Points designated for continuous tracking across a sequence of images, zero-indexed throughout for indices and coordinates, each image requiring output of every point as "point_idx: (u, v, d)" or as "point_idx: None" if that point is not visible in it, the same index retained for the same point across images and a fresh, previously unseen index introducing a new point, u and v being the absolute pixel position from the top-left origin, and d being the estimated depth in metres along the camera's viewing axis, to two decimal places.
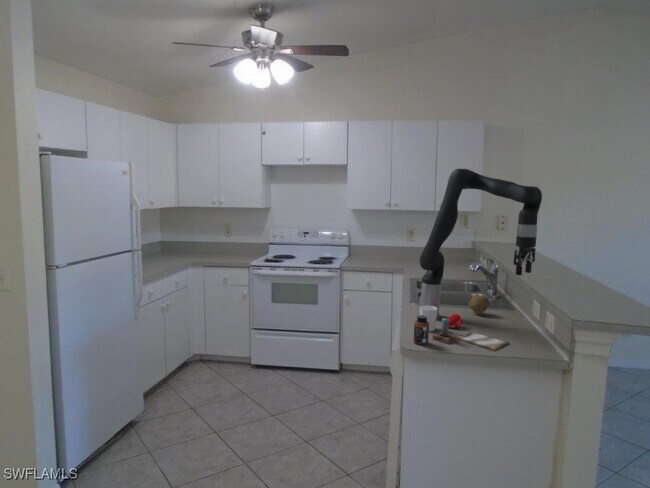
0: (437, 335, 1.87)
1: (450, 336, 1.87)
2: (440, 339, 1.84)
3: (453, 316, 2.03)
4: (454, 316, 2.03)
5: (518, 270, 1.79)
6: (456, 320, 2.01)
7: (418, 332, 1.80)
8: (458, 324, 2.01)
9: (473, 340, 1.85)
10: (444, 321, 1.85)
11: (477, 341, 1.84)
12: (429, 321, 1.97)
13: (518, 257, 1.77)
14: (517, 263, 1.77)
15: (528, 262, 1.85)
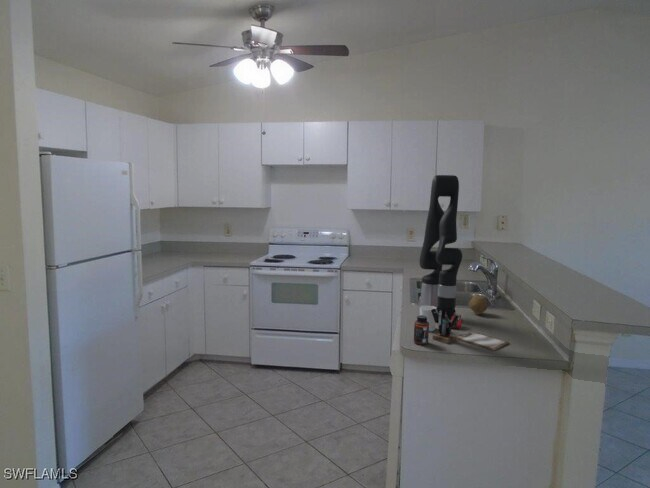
0: (437, 335, 1.87)
1: (450, 336, 1.87)
2: (440, 339, 1.84)
3: (453, 316, 2.03)
4: None
5: (450, 331, 1.85)
6: None
7: (418, 332, 1.80)
8: (458, 324, 2.01)
9: (473, 340, 1.85)
10: (444, 321, 1.85)
11: (477, 341, 1.84)
12: (429, 321, 1.97)
13: (457, 321, 1.82)
14: (454, 325, 1.83)
15: (441, 323, 1.87)
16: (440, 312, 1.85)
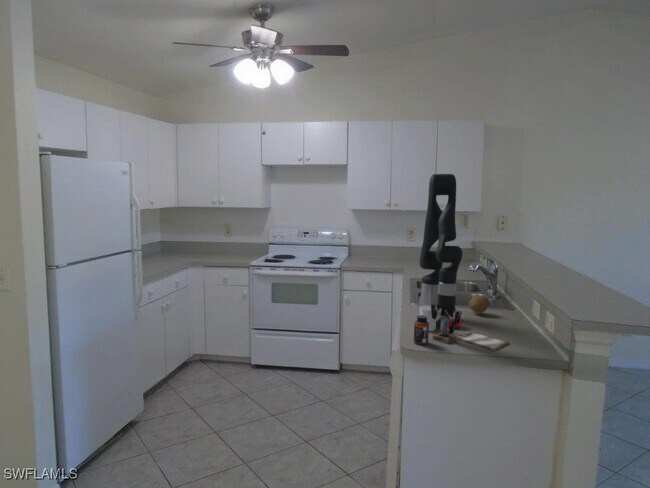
0: (437, 335, 1.87)
1: (450, 336, 1.87)
2: (440, 339, 1.84)
3: None
4: (454, 316, 2.03)
5: (453, 329, 1.84)
6: None
7: (418, 332, 1.80)
8: (458, 324, 2.01)
9: (473, 340, 1.85)
10: (443, 321, 1.85)
11: (477, 341, 1.84)
12: (429, 321, 1.97)
13: (459, 317, 1.81)
14: (458, 322, 1.82)
15: (439, 319, 1.88)
16: (440, 310, 1.85)
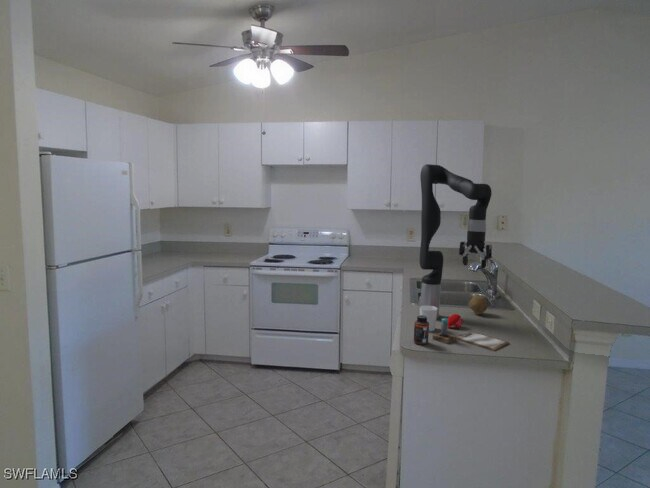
0: (437, 335, 1.87)
1: (450, 336, 1.87)
2: (440, 339, 1.84)
3: (453, 316, 2.03)
4: (454, 316, 2.03)
5: (485, 263, 1.89)
6: (456, 320, 2.01)
7: (418, 332, 1.80)
8: (458, 324, 2.01)
9: (473, 340, 1.85)
10: (443, 321, 1.85)
11: (477, 341, 1.84)
12: (429, 321, 1.97)
13: (491, 251, 1.87)
14: (490, 257, 1.87)
15: (466, 255, 1.95)
16: (469, 246, 1.91)
